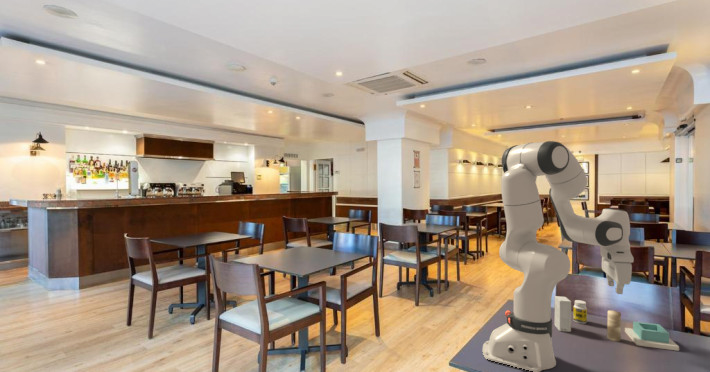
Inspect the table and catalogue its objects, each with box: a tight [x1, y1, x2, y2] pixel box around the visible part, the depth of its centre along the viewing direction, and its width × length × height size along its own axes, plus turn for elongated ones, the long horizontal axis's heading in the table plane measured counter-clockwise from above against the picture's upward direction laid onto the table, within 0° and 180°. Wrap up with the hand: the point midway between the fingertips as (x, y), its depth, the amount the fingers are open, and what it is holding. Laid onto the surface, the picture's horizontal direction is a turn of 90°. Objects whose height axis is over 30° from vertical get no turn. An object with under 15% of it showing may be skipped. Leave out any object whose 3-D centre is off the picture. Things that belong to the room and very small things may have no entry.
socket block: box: [624, 321, 680, 352], centre depth 130 cm, size 12×12×5 cm
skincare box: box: [554, 295, 572, 333], centre depth 141 cm, size 6×4×12 cm
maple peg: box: [606, 309, 622, 342], centre depth 132 cm, size 4×4×10 cm
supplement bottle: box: [572, 299, 588, 325], centre depth 147 cm, size 5×5×8 cm
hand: (614, 289), depth 131 cm, fingers open, 8 cm apart
